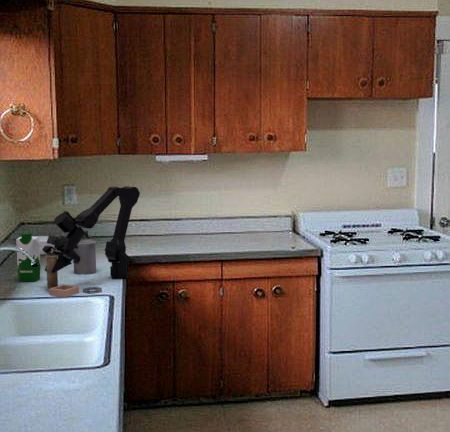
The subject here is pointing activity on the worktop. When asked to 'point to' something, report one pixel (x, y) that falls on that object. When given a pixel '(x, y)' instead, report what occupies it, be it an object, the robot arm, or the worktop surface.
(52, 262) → the peg
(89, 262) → the pillar candle
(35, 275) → the milk carton
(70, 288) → the collar
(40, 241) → the paper bowls
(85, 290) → the washer
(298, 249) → the worktop surface
